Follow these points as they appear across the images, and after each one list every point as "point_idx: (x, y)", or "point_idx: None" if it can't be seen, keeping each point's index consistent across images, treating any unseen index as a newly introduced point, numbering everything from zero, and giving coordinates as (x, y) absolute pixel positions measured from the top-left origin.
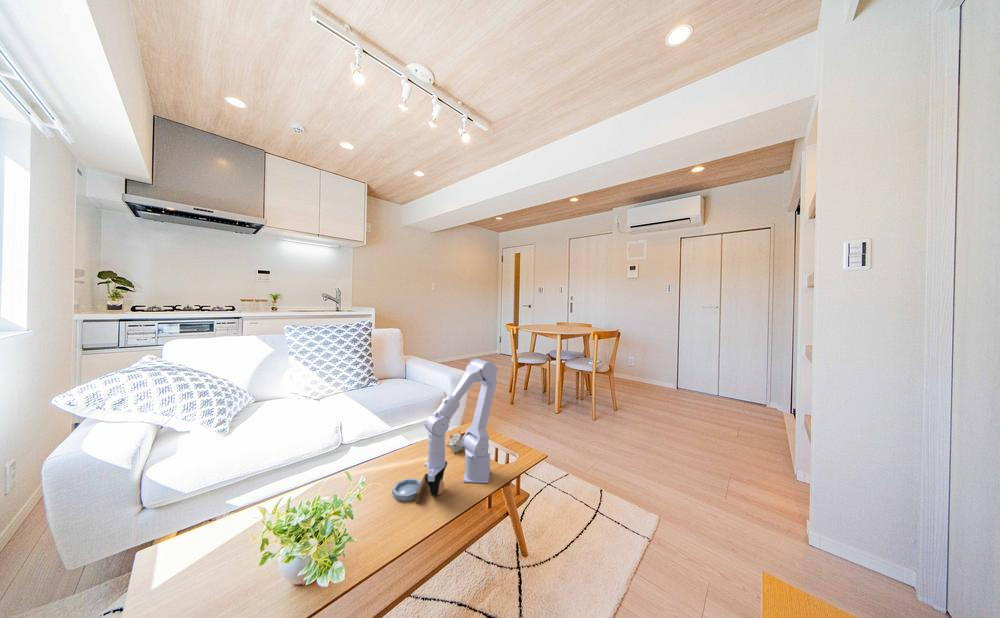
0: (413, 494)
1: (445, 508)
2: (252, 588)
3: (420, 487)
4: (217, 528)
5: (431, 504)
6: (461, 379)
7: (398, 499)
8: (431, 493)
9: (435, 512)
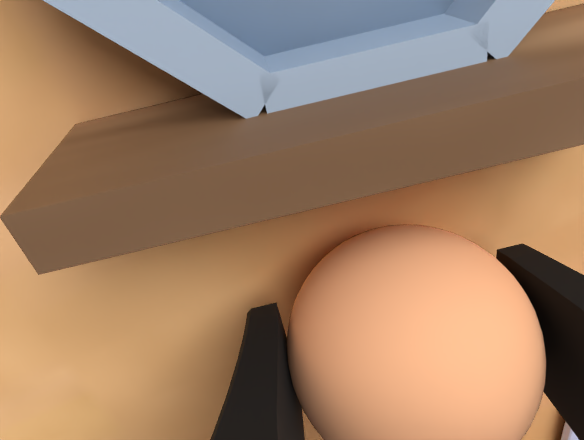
0: (135, 45)
1: (172, 430)
2: None
3: (244, 204)
4: None
5: (168, 310)
6: None
7: None
8: (247, 339)
9: (74, 393)
